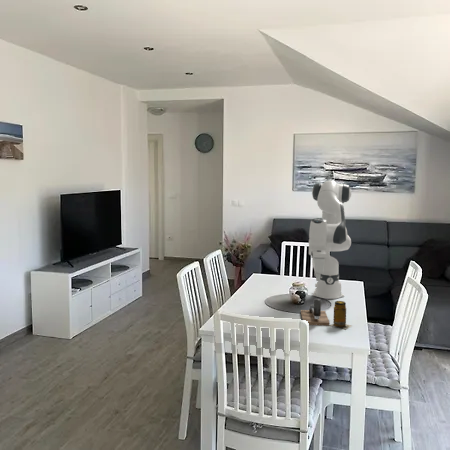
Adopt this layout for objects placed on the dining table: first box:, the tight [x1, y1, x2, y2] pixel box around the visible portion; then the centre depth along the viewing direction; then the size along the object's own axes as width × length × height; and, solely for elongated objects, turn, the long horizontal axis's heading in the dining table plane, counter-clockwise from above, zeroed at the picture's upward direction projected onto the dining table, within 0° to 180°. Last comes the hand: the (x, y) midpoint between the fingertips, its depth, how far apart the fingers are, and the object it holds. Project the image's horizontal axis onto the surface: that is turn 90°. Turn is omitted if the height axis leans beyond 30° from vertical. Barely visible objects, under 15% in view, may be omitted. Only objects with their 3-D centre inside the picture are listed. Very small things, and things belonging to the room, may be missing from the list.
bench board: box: [300, 309, 331, 327], centre depth 237 cm, size 20×13×2 cm, turn 174°
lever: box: [308, 298, 322, 319], centre depth 236 cm, size 19×4×10 cm, turn 176°
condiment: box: [329, 300, 353, 330], centre depth 226 cm, size 7×8×12 cm
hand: (317, 278), depth 228 cm, fingers open, 8 cm apart
